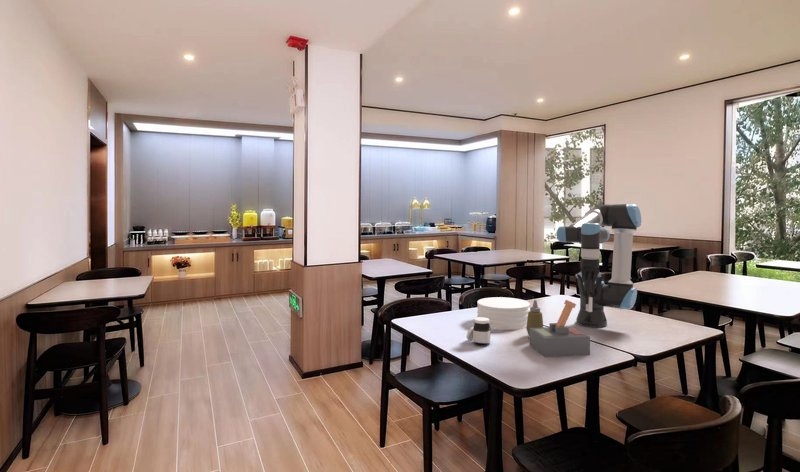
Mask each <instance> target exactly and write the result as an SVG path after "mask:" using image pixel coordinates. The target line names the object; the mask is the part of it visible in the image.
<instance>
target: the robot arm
mask: <svg viewBox="0 0 800 472" xmlns="http://www.w3.org/2000/svg"><path fill="white" fill-rule="evenodd" d="M641 225H642V212H641V210H640V208H639V206H638V205H637V204H634V203H623V204H618V203H616V204H602V205H599V206H596V207H593V208H592V209H591V208H590V209H589V210H587V211H586V212H585V214H584V215H583V216H582V217H580V218H579V219H577V220H576V221H574V222H573V223H572V224H570V225H568V226H566V225H564V226H559V227H558V228H557V230H556V239H557V240H558V241H559V242H560V243H578V244H579V243H580V257H581V258H580V270H579V272H578V273H575V274H574V276H575V278H576V282H577V286H578V291H579V294H580V297H579V299H580V302H579V311H578V313H577V317H576V319H575V320H576V321H575V322H576V323H577V324H578V325H580V326H583V327H589V328H604V327H607V326H608V320H607V317H606V314H605V310H604V309H605V307H606V308H612V309H613V308H614V309H620V310H631V309H633V307H634V305H635V304H636V302H637V301H636V300H637V297H638V296H637V295H638V289H637V288H636V287H634V283H633V281H632V280H631V275H632V274H631V271H632V258H633V257H632V256H633V254H632V253H633V241H634V233H636V232H637V230H638V229H637V228H640V227H641ZM606 227H611V231H612V232H613V234H614V235H613V236H614V237H613V252H612V263H611V264H612V267H611V278H610V279H609V280H607V284H605V281H604V280H603V279H604V277H605V276H606V275H605V274H604V273H602V272H600V259H599V258H600V254H601V253H600V251H601V250H600V245H601V244H604V243H606V242H607V241H608V240H609V239H610V230H608V228H606Z"/></svg>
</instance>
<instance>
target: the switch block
mask: <svg viewBox="0 0 800 472" xmlns="http://www.w3.org/2000/svg"><path fill="white" fill-rule="evenodd" d="M556 324H557V322H552V323H551V322H550V323H549V324H548V325H549V326H547V327H544V326H543V327H541V328H530V330H529V335H528V339H529V340H528V342H529V346H530V347H531V348H532V349H534V350H535V351H536V352H538V353H539V354H540V355H542V356H543V357H544V358H552V357H553V358H554V357H556V358H558V357H574V356H576V357H577V356H590V355H591V336H590V335H588V334H586V333H585V332H583V331H580V330H579V329H577V328H575V327H573V326H569V325H568V326H567V325H565V326H561V327H555V326H556Z"/></svg>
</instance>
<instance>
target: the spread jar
mask: <svg viewBox="0 0 800 472" xmlns="http://www.w3.org/2000/svg"><path fill="white" fill-rule="evenodd" d="M473 320H474V323H473V326H471V327H470V328H469V329H468V331H467V332H466V339H467V340H469V341H472V342H473V344H474V345H475V346H481V347H487V346H489V345H490V344H491V328H490V324H489V319H488V318H485V317H474V319H473Z"/></svg>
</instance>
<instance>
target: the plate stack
mask: <svg viewBox="0 0 800 472" xmlns="http://www.w3.org/2000/svg"><path fill="white" fill-rule="evenodd" d="M476 302H477V309H476V310H477V311H476V312H477V315H476V316H477V317H485V318H488V319H489V324H490V329H494V330H501V331H502V330H503V331H504V330H505V331H510V330H511V331H514V330H516V331H517V330H522V329H526V327H527V319H528V312H530V307H531V303H530V302H529V301H528V300H525V299H521V298H514V297H505V296H504V297H503V296H499V297H498V296H496V297H495V296H494V297H484V298H480V299H478V300H477V301H476ZM477 317H476V318H477Z"/></svg>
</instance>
